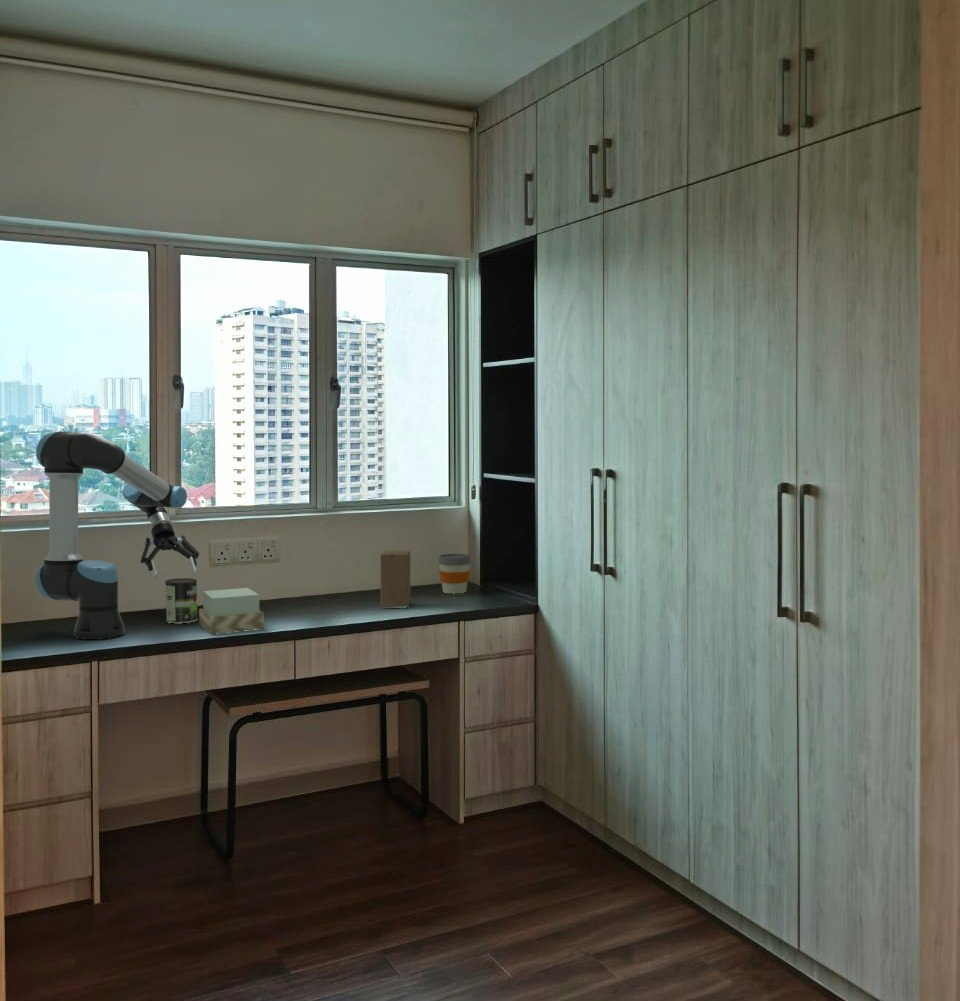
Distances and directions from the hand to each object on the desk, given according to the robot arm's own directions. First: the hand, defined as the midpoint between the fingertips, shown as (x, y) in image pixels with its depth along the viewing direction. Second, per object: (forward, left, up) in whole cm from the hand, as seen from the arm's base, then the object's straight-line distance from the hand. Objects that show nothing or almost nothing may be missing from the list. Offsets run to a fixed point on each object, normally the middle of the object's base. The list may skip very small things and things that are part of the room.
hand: (175, 575), depth 351 cm
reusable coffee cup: (+106, -6, -15) cm, 107 cm away
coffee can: (0, -9, -15) cm, 17 cm away
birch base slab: (+12, -27, -15) cm, 33 cm away
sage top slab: (+12, -27, -9) cm, 31 cm away
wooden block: (+75, -19, -15) cm, 79 cm away
